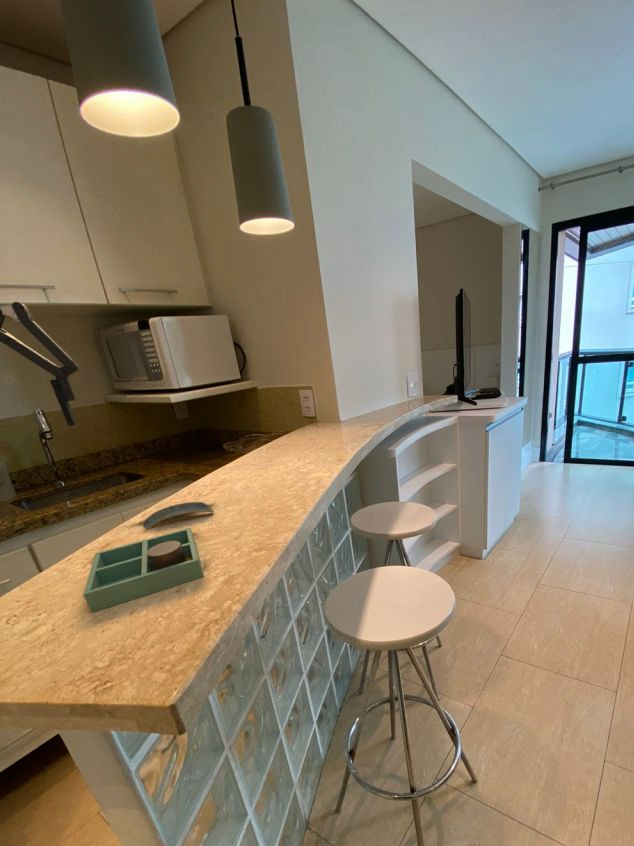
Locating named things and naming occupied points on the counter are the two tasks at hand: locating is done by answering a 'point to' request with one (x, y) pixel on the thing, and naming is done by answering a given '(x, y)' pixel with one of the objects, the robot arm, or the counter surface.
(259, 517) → the counter surface
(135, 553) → the grid
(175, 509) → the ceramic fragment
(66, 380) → the robot arm
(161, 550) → the brown short cylinder
